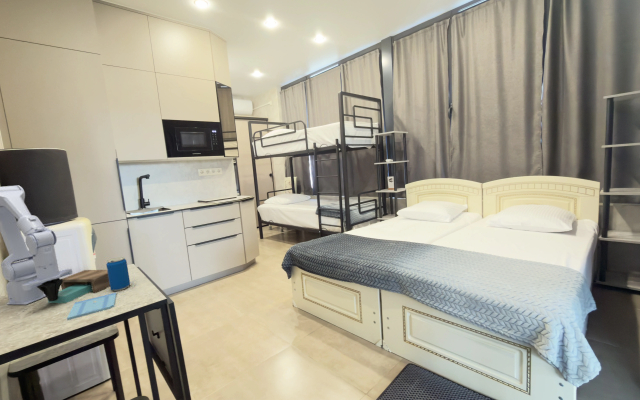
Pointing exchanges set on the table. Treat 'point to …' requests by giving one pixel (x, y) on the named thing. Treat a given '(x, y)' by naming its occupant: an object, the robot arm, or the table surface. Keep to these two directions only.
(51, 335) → the table surface
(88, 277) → the wooden box
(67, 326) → the table surface
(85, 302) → the light blue flat pad
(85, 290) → the teal slab tile
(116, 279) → the beverage can
